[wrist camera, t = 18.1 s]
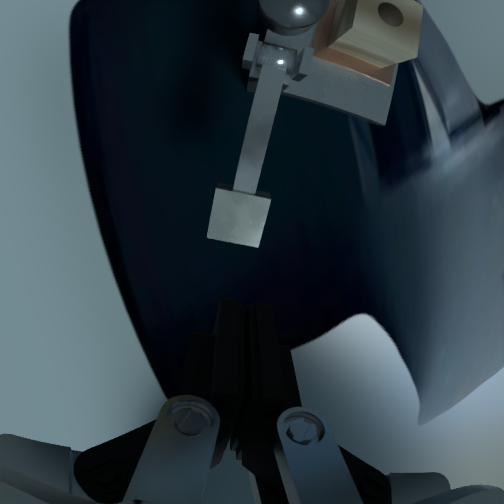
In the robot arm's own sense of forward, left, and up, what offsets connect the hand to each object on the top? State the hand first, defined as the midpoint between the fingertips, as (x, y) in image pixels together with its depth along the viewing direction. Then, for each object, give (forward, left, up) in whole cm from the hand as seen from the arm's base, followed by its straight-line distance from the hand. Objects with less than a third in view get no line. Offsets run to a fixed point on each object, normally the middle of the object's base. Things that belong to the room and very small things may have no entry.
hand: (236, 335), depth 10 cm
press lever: (+9, 0, -15) cm, 17 cm away
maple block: (+20, -8, -21) cm, 30 cm away
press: (+19, -6, -23) cm, 31 cm away
